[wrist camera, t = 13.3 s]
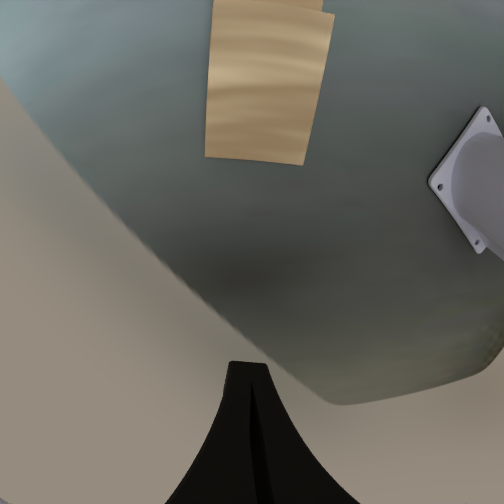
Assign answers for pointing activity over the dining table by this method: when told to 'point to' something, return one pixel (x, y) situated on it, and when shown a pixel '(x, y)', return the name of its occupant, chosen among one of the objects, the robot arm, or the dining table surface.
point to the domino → (264, 79)
